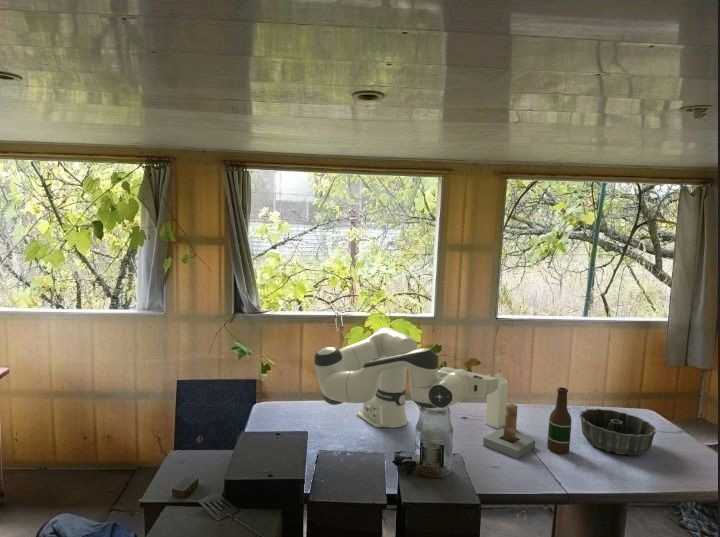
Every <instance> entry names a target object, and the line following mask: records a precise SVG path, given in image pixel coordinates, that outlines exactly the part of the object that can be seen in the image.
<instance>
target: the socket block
mask: <svg viewBox="0 0 720 537" xmlns="http://www.w3.org/2000/svg"><path fill="white" fill-rule="evenodd" d="M503 435H504V427H500V428H498V429H497V430H495V431H493V432H491V433H490V434H487V435H486V436H484V437H483V440H482V442H483V443H482V445H483V446H484V447H487V448H489V449H492V450H493V451H497V452H499V453H502V454H504V455H507V456H510V457H512V458H514V457H515V459H517V458H518V459H519V458H521V457H523V456H524V455H525V454H527V453H529V452H530V451H532V450H533V449H534V447H535V448H536V439H535V438H531V437H528V436H526V435H523V434H520V433H517V432H516V438H515V443H513V444H512V443H510V442H507V441H504V440H503ZM523 454H524V455H523ZM520 456H521V457H520Z"/></svg>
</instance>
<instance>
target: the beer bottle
mask: <svg viewBox="0 0 720 537" xmlns="http://www.w3.org/2000/svg"><path fill="white" fill-rule="evenodd" d="M556 390H557V395H556V402H555V403H556V404H555V407H554V409H553V410H551V413H550V415H549V419H548V429H547V432H548V433H547V441H546V442H547V445H546V446H547V449H548V450H549V451H550V452H551V453H553V454H557V455H567V454H568V453H569V452H570V447H571V446H570V445H571V434H572V433H571V432H572V417H571V414H570V413H569V410H568V393H569V391H568V389H567V388H566V387H561V386H560V387H558V388H557V389H556Z"/></svg>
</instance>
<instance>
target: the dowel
mask: <svg viewBox="0 0 720 537" xmlns="http://www.w3.org/2000/svg"><path fill="white" fill-rule="evenodd" d="M517 420H518V405H517V404H515V403H507V404H506V405H505V420H504V426H503V428H504V435H503V440H504V441H507V442H510V443H512V444H513V443H515V438H516V433H517V422H518V421H517Z"/></svg>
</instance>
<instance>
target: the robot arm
mask: <svg viewBox="0 0 720 537" xmlns="http://www.w3.org/2000/svg"><path fill="white" fill-rule="evenodd" d="M313 361H314V365H315V371H316V372H315V373H316V379H317V381H318V385H319V387H320V390H321V396H322V398H323V399H324V402H325V403H327V404H328V405H333V406H336V405H341V404H344V403H348V404H362V409H360V410H358V411H357V413H356V416H357V417H359V418H360V419H363V421H366V422H367V423H369V424H370V425H372V426H373V427H375V428H390V429H391V428H393V429H394V428H401V427H404V426H406V425H407V424H408V418H407V413H406V412H407V411H406V397H407V389H406V381H407V380H406V378H407V370H408V376H409V378H408V379H409V390H410V397H411V401H412V402H414V404H416V405H418V406H419V407H421V408H426V409H437V408H438V409H445V408H450V407H452V406H454V405H456V404H458V403H459V402H460V401H462V399H470V398H471V399H472V398H473V399H482V400H483V399H486V398H487V395H488V394H491V393H493V392H494V391H496V390H497V388H498V379H497V378H496V377H494V376H492V375H491V374H489V373H485V374H482V373H476V372H471V371H467V370H465V369H466V368H453V367H449V366H443V367H441V368H439V356H438V354H437V353H436V352H435V351H434V350H433V349H431V348H427V347H422V348H421V347H420V348H418V345H417V342H416V341H415V340H414V339H413V338H412V337H411V336H410V335H408V334H407V333H404V332H402V331H399V330H396V329H394V328H391V327H388V326H387V327H386V326H385V327H384V326H382V327H378V328H376V330H375V331H374V332H373V334H371V335H369V336H368V337H366V338H365V339H362V340H360V341H357V342H354V343H352V344H349V345H346V346H343V347H340V348H337V347H335V346H325V347H323V348H320V349H318V350H317V351H316V353H315V354H314V360H313Z"/></svg>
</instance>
